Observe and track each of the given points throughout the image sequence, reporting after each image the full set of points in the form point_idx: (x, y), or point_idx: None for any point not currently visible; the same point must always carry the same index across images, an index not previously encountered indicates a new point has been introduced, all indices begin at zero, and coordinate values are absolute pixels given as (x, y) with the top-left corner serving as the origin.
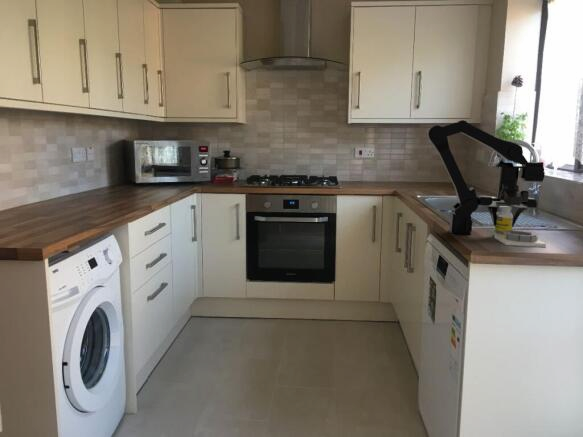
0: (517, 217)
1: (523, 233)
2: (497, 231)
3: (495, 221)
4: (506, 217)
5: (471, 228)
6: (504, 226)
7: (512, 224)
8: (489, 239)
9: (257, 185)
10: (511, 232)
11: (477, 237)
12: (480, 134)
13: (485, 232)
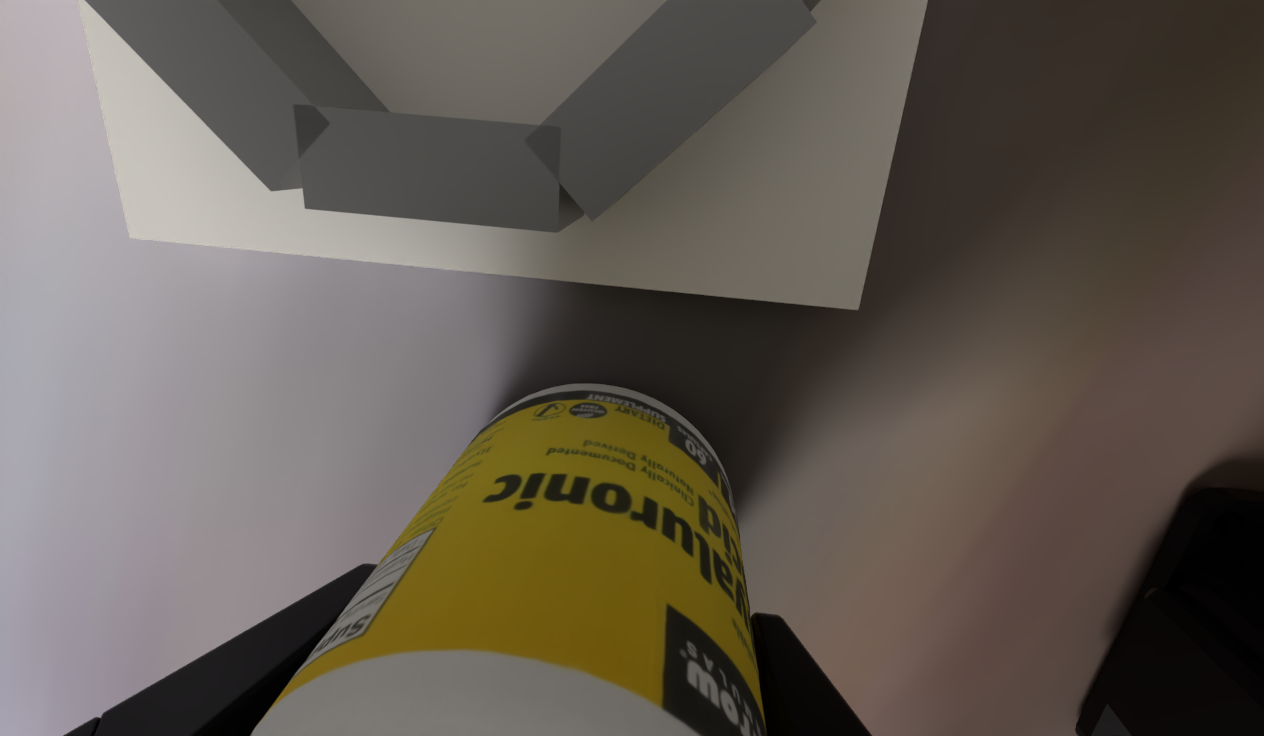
0: (86, 729)
1: (280, 43)
2: (721, 484)
3: (796, 694)
4: (526, 668)
5: (1212, 635)
6: (608, 479)
7: None
8: (1062, 95)
9: None
10: (573, 99)
11: (1213, 272)
12: None
13: None
